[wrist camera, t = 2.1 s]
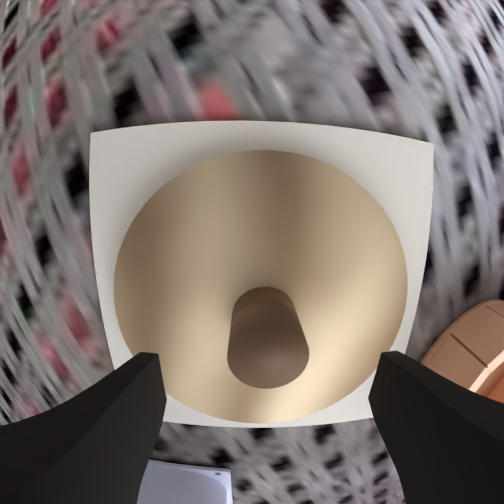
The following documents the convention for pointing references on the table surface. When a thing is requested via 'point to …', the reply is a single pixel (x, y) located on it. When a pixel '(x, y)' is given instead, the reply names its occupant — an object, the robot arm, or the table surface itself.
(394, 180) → the white square mat
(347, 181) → the oak lid
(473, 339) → the terracotta bowl
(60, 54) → the table surface
